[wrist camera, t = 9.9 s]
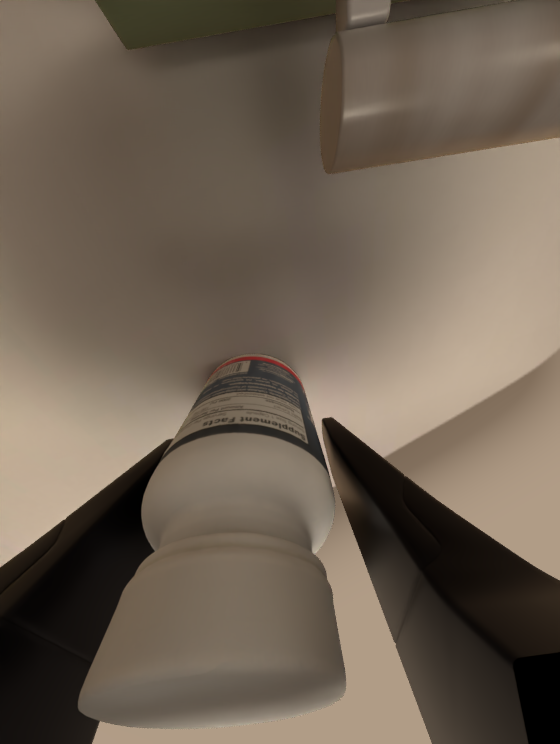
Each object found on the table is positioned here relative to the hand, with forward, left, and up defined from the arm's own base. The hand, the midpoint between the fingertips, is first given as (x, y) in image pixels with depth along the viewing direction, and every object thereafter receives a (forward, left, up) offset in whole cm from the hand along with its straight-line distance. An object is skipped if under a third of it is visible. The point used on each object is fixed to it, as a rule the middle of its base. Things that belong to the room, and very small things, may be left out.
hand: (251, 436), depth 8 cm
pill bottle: (0, 0, -3) cm, 3 cm away
